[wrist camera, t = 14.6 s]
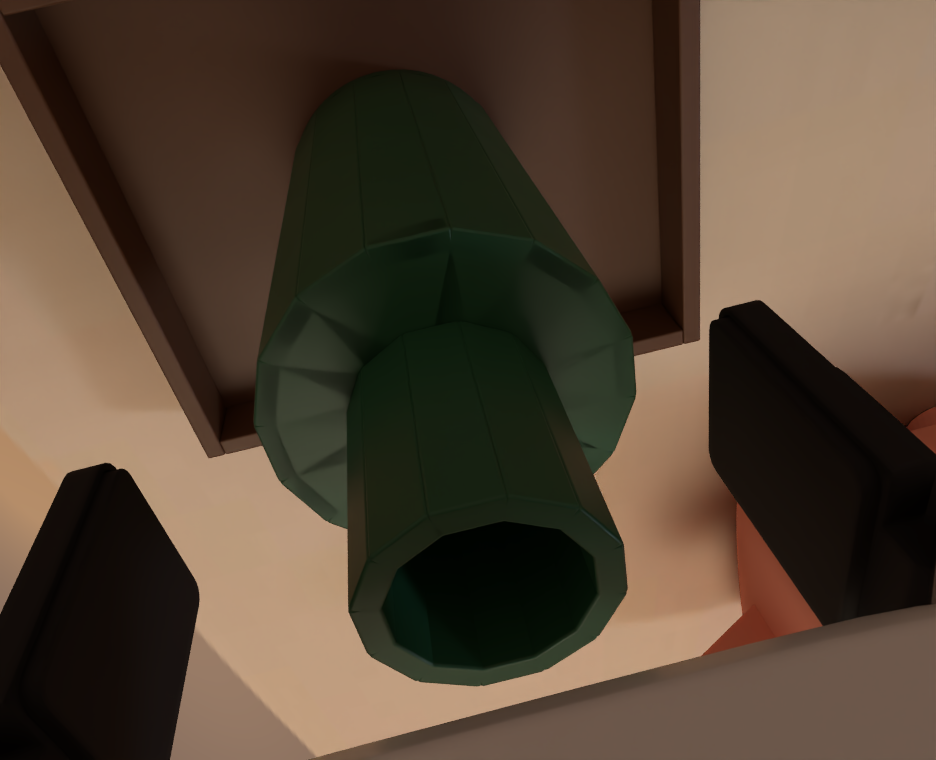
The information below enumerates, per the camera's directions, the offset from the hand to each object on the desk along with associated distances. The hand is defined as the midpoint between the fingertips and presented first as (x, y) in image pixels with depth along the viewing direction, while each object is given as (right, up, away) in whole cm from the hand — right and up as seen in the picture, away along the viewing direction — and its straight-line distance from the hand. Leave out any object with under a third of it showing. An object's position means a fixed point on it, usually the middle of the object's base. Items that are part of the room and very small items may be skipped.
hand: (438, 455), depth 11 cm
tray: (-2, +8, +11) cm, 14 cm away
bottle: (-2, +7, +10) cm, 13 cm away
